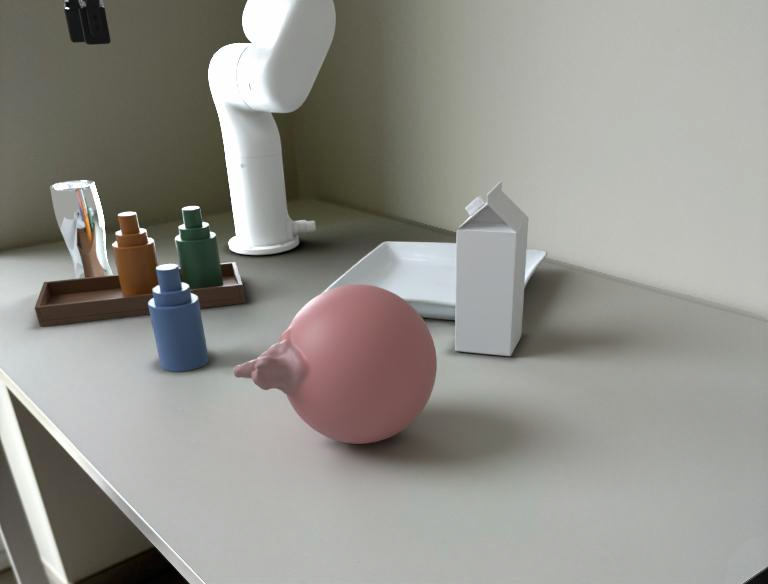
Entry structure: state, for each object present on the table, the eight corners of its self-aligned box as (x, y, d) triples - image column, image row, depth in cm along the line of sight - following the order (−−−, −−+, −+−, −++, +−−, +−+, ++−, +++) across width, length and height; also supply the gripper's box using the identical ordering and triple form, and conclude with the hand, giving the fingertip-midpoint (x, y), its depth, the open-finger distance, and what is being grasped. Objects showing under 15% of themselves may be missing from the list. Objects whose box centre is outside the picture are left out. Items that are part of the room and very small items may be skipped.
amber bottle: (164, 288, 124) (148, 207, 117) (164, 300, 119) (148, 216, 112) (124, 292, 122) (106, 211, 116) (123, 305, 118) (104, 220, 111)
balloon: (231, 424, 86) (209, 283, 77) (405, 392, 91) (402, 256, 82) (261, 495, 74) (239, 337, 65) (460, 453, 79) (463, 301, 70)
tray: (238, 279, 129) (235, 261, 127) (245, 303, 119) (242, 284, 117) (48, 299, 123) (43, 281, 122) (39, 326, 113) (34, 307, 112)
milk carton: (521, 336, 104) (531, 181, 93) (510, 357, 98) (519, 195, 88) (468, 332, 106) (471, 179, 95) (454, 352, 100) (456, 193, 90)
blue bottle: (207, 350, 104) (191, 257, 97) (210, 368, 99) (193, 271, 92) (160, 356, 103) (141, 262, 96) (160, 374, 98) (140, 277, 91)
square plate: (384, 261, 134) (383, 238, 131) (547, 272, 125) (549, 247, 123) (319, 317, 113) (317, 290, 110) (511, 334, 104) (513, 305, 102)
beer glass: (63, 286, 129) (38, 188, 120) (92, 273, 134) (69, 178, 126) (98, 290, 126) (74, 190, 118) (126, 277, 132) (105, 180, 123)
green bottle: (222, 281, 125) (210, 201, 119) (225, 293, 120) (213, 210, 114) (183, 285, 124) (169, 205, 117) (185, 298, 119) (170, 214, 113)
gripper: (105, -125, 94) (134, 43, 104) (76, -108, 107) (103, 40, 116) (39, -127, 91) (74, 46, 101) (17, -110, 104) (50, 42, 113)
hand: (90, 42), depth 108 cm, fingers open, 9 cm apart
